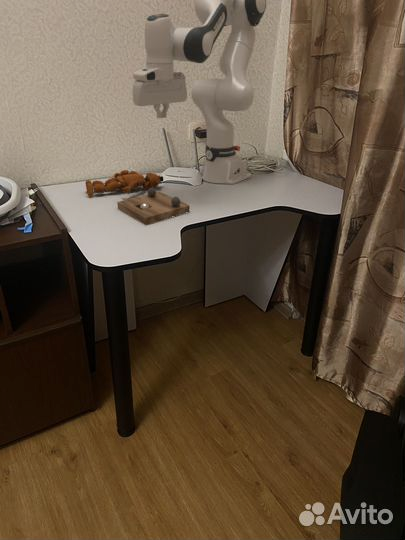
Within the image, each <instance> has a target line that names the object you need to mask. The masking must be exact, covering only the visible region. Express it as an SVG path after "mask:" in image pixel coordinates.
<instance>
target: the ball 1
mask: <svg viewBox="0 0 405 540" xmlns="http://www.w3.org/2000/svg"><path fill="white" fill-rule="evenodd" d="M156 192H157V190H156V188H155V187H153V188H149V189H148V188H147V195H149V196H155V195H156Z"/></svg>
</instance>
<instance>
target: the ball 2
mask: <svg viewBox="0 0 405 540" xmlns="http://www.w3.org/2000/svg"><path fill="white" fill-rule="evenodd" d="M180 202H182V201H181V199H180V197H177V196H174V197H173V196H172V200H171V203H172V205H173V206H178V205H180Z"/></svg>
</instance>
